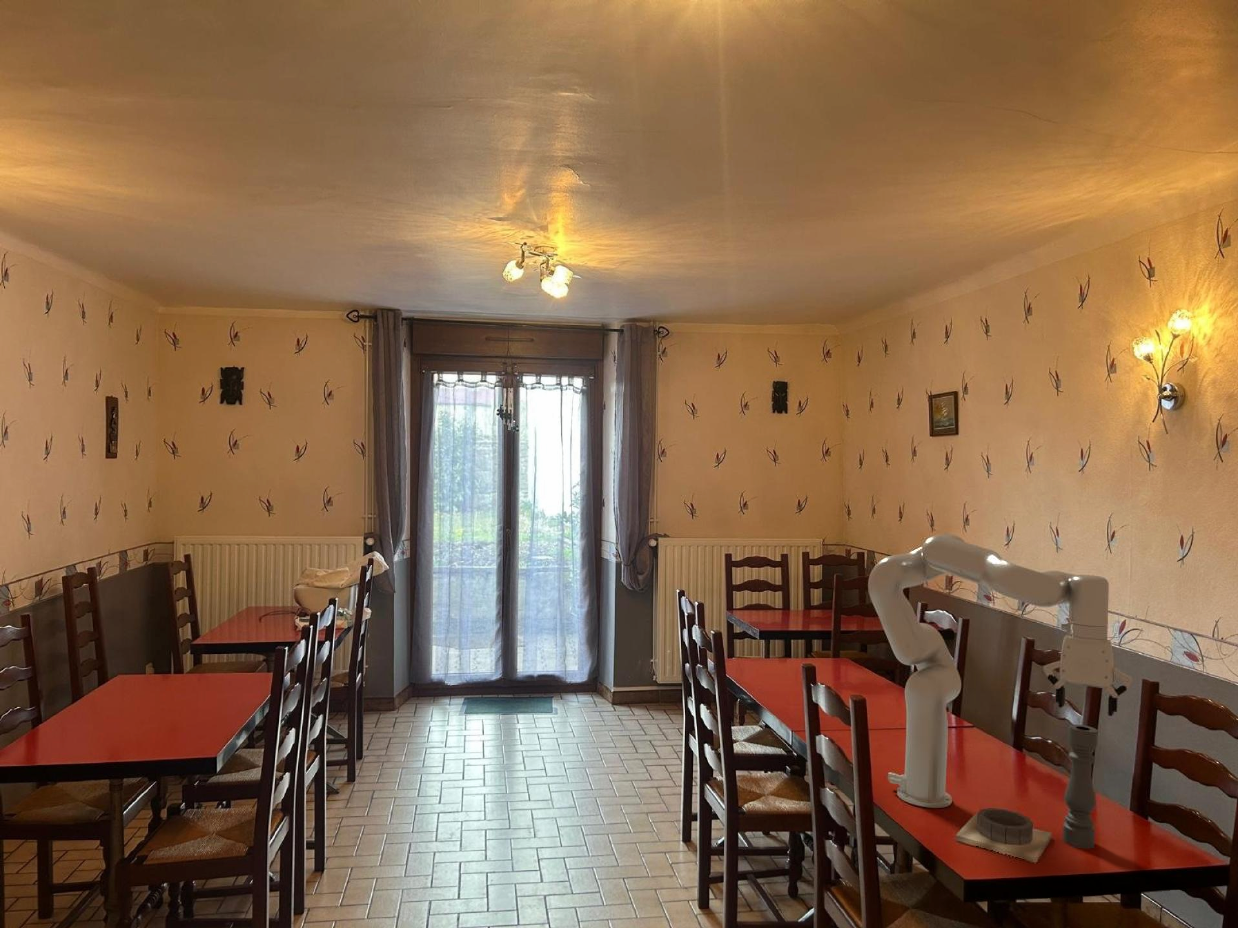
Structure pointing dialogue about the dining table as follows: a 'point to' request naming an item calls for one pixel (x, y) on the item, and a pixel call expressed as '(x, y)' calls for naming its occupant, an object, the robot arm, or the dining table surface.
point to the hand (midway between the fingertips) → (1085, 710)
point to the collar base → (1005, 834)
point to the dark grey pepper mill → (1080, 788)
